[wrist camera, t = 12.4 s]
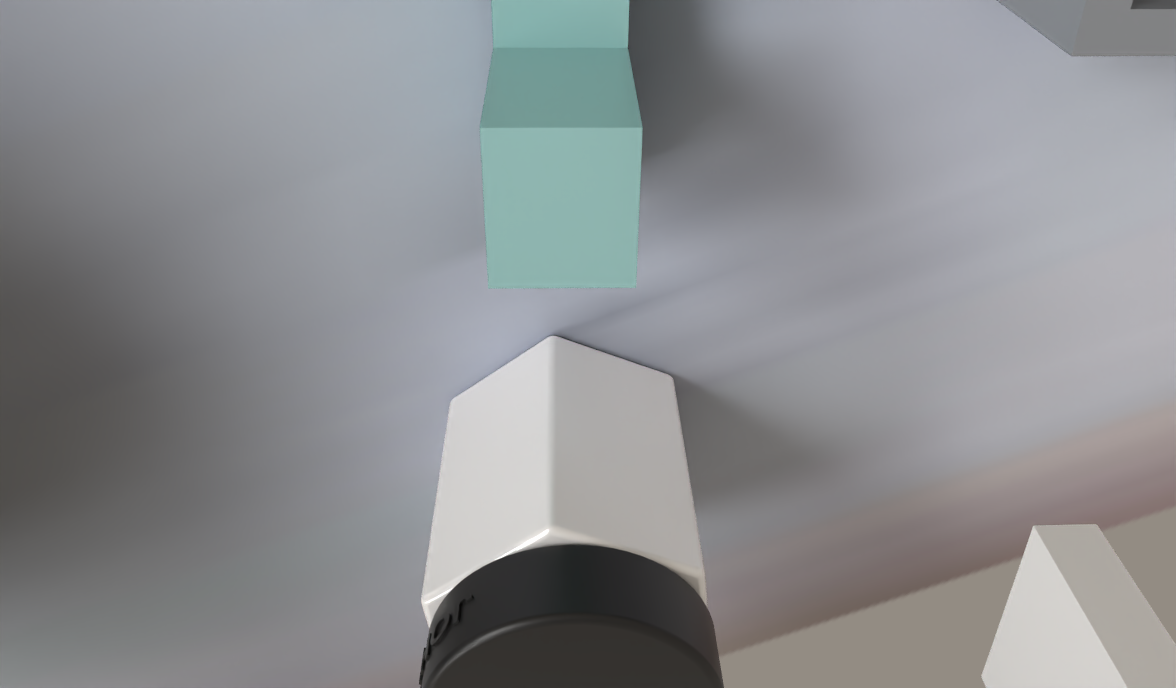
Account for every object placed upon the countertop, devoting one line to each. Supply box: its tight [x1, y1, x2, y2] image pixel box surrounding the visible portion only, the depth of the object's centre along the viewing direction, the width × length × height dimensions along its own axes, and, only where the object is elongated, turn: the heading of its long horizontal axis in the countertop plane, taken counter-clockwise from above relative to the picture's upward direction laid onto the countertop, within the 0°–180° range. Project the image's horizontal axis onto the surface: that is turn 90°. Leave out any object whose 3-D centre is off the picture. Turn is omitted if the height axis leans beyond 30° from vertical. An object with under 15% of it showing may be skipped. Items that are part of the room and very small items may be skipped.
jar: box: [419, 336, 724, 688], centre depth 31 cm, size 9×8×12 cm
